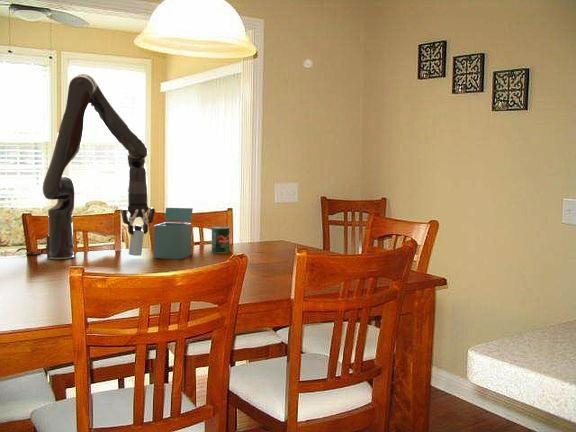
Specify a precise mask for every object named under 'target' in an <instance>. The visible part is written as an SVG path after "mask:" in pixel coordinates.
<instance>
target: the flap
mask: <svg viewBox="0 0 576 432" xmlns="http://www.w3.org/2000/svg"><path fill="white" fill-rule="evenodd" d="M193 211H194V209H193V208H192V207H191V208H190V207H165V213H164V222H181V223H191V222H192V218H193Z"/></svg>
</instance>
